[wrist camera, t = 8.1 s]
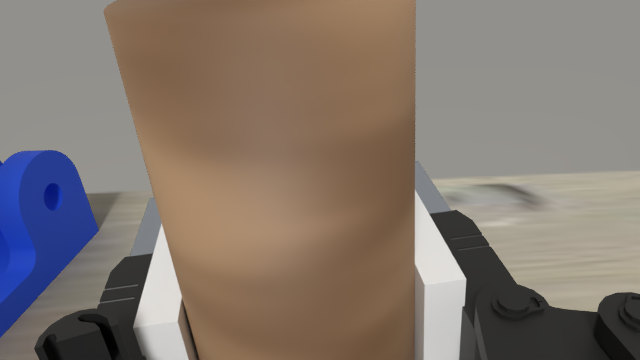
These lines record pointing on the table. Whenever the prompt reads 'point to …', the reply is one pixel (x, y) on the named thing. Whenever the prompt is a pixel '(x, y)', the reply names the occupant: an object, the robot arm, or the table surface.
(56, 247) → the bracket
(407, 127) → the walnut dowel
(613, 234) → the table surface
